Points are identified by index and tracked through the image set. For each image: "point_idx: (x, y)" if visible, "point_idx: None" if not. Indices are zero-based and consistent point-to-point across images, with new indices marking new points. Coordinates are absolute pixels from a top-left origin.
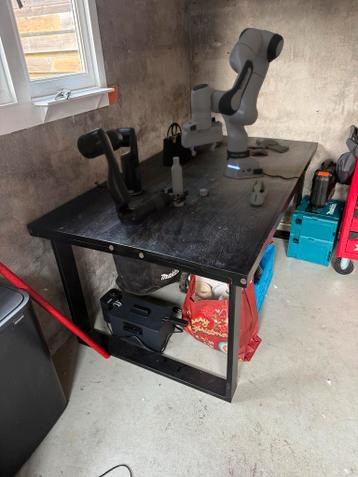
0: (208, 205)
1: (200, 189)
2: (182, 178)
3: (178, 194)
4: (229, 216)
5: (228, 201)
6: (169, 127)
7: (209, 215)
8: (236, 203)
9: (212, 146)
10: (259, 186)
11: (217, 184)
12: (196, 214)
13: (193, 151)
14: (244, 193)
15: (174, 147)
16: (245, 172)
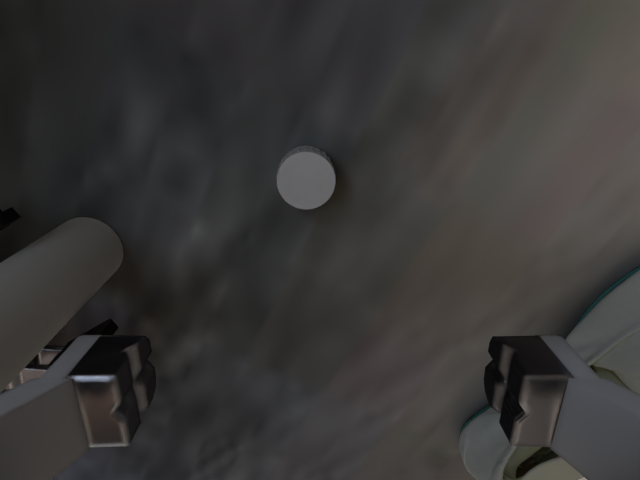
0: (262, 334)
1: (289, 161)
2: (8, 379)
3: (15, 386)
4: (301, 470)
5: (392, 336)
6: None
7: (217, 430)
8: (414, 375)
9: (597, 424)
10: (578, 474)
11: (508, 26)
12: (158, 398)
13: (49, 466)
14: (547, 281)
15: None
16: None
